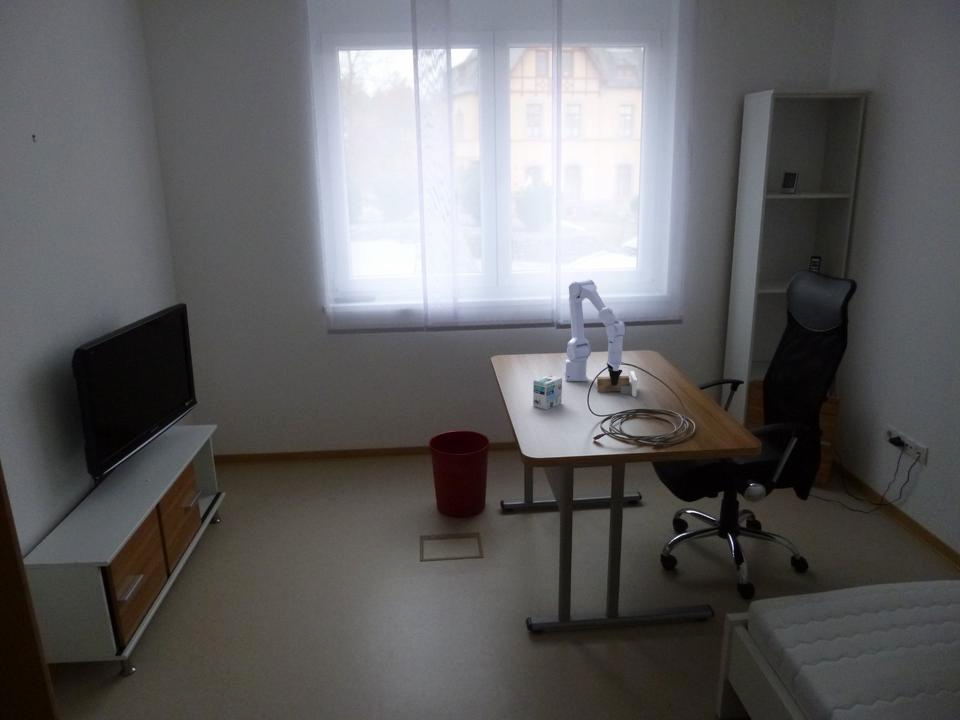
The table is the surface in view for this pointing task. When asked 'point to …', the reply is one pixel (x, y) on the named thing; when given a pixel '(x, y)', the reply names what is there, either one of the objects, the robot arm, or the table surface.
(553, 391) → the light bulb box
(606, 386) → the rail
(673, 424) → the table surface
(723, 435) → the table surface
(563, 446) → the table surface
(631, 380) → the bracket
